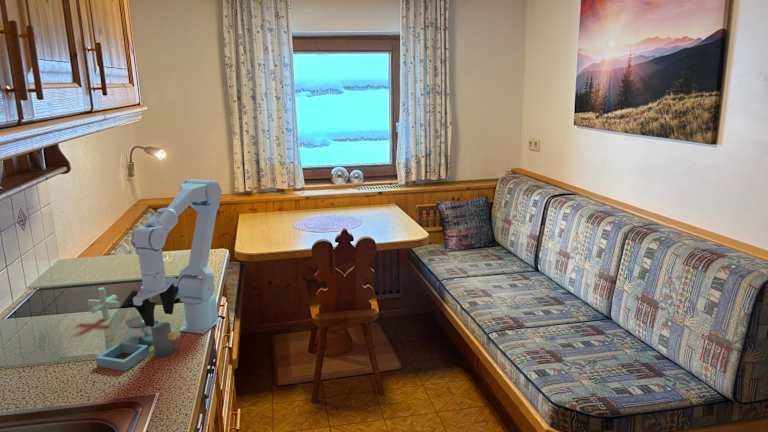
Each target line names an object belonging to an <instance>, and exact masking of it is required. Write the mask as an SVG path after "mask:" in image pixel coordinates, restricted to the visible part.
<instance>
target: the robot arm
mask: <svg viewBox="0 0 768 432" xmlns="http://www.w3.org/2000/svg"><path fill="white" fill-rule="evenodd" d="M221 196H222V188H221V186H220V184H219V182H218V181H217V180H216V179H211V180H210V179H191V178H186V179H185V180H183V182H182V183H181V184H180V186H179V192H178V194H177V195H176V196H175V198H174V199H173V200H172V201H171V202H170V204H169V205H168V206H167V207H161V208H158V209H157V210H156V213H154V214H153V216H152V217H150V219H149V220H148V221H147V222H146V223H144V225H143V226H137V228H135V229H134V230H133V232H132V233H131V240H130V245H131V246H132V247H133V248H134V251H135V254H136V255H137V256H138V262H139V269H140V274H141V275H140V276H141V283H142V286H140V291H139V292H138V293H137V294H136V295H135V296H134V297H132V306H133V308H135V310H136V311H137V313H138V314H139V315H141V316H142V318H143V320H144V323H145V325H146V326H149V327H153V326H154V320H155V308H156V304H157V303H156V302H152V301H150V299H151V298H153V297H155V296H156V295H159V297H160V300H161V303H162V309H163V312H164V314H165V315H173V314H174V307H175V301H176V297H178V298H180V301H181V302H182V303H183V311H184V318H185V325H184V326H183V327H181V328H180V329H179V331H180V332H185V333H191V334H192V333H194V334H202V335H203V334H205V333H206V332H208V331H209V330H210V329H212V328H213V327H214V326H215V325H217V324H218V323H219V322H221V318H219V313H218V305H217V300H216V298H215V296H214V292H215V284H214V283H215V281H214V280H215V275H214V273H213V272H212V271H211V270H210V269H209V268H208V264H209V257H210V252H211V247H212V241H213V237H214V236H213V235H214V230H215V225H216V218H217V217H216V216H217V211H218V210H219V209H220V203H221V199H222V198H221ZM189 206H190V207H191V208H192V209H194V210H195V212H196V213H197V215H196V219H195V226H194V232H193V237H192V243H191V249H190V254H189V259H188V263H187V266H185V267H184V268H183V269H181V270H180V271H179V275H178V278H177V277H170V276H169V277H168V278H166V276H167V275H166V270H165V263H164V262H165V261H164V257H163V256H164V255H163V247H165V244H166V240H167V238H168V235H169V233H170V232H171V231H172V229H174V227H175V226H176V225H177V224H178V222H179V216H180V215H181V214H182V213H183V212H184V211H185V210H186V209H187V208H188V207H189ZM176 278H177V279H176Z"/></svg>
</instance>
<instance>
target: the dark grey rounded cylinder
mask: <svg viewBox="0 0 768 432" xmlns="http://www.w3.org/2000/svg"><path fill="white" fill-rule="evenodd" d="M151 332H152V339H153V344H152V345H153V352H154V357H155V358H161V359H162V358H167V357H169V356H171V355H173V354H174V352H175V351H174V343H173V341H174V340H176V339H177V336H178V335H177V332H173V331H172V328H171V323H169V322H167V321H162V322H161V321H160V322H159V323H156V324H154V326H153V327H151Z"/></svg>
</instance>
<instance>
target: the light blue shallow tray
mask: <svg viewBox="0 0 768 432" xmlns="http://www.w3.org/2000/svg"><path fill="white" fill-rule="evenodd" d="M149 347H150V346H147V345H140V344H133V343H127V342H125V341H119V343H117V344H115V345H113V346H112V347H111V348H109V349H107V350H106V351H104V352H102V353H101V354H99V355H97V356H96V357H95V362H96V366H97V367H99V368H106V369H111V370H116V371H117V370H118V371H124V372H127V371H128V370H130V369H131V368H133V366H135V365H137V364H138V363H139V362H141V361H142V360H143V359H145V358H147V357H148V356H149V355H150V354H151V353H150V348H149ZM122 353H127V354H130V355H129V356H127V357H126V358H124V359H121V358H116V357H118V356H119V355H120V354H122ZM132 353H133V354H132Z"/></svg>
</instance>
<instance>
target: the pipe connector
mask: <svg viewBox="0 0 768 432" xmlns="http://www.w3.org/2000/svg"><path fill="white" fill-rule="evenodd" d="M97 290H98V297H99V299H92V298H91V299H88V300H87V305H88V306H92V307H90V308H89V311H90V313H92V314H95V313H97V312H98V311H99V310H101V314H102V319H103V320H104V321H106V320H109V319H110V313H109V307H110V308H119V307H120V306H121V302H120V301H117V299H118V296H117V295H116V294H112V295H109V296H108V297H107V294H106V288H105V287H103V286H102V287H101V286H100V287H99V288H97Z"/></svg>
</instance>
